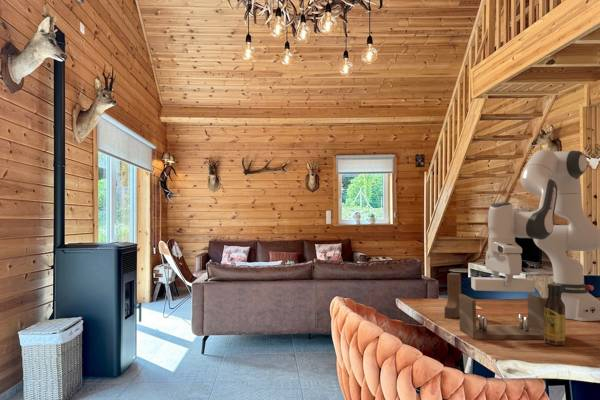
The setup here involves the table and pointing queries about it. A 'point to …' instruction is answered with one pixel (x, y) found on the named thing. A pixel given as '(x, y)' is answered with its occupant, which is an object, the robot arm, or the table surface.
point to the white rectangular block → (502, 284)
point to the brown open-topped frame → (529, 331)
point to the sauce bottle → (554, 316)
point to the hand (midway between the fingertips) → (502, 284)
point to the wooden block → (453, 296)
